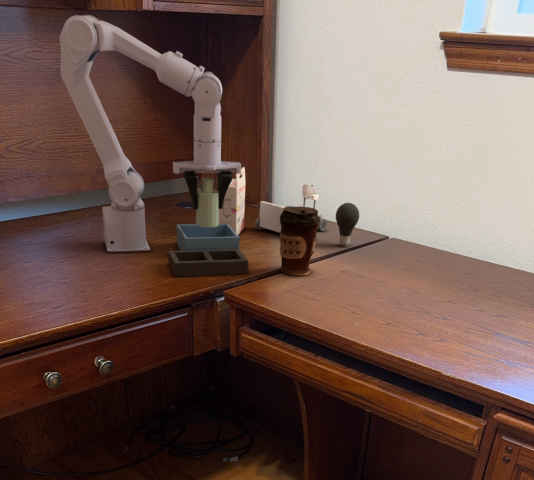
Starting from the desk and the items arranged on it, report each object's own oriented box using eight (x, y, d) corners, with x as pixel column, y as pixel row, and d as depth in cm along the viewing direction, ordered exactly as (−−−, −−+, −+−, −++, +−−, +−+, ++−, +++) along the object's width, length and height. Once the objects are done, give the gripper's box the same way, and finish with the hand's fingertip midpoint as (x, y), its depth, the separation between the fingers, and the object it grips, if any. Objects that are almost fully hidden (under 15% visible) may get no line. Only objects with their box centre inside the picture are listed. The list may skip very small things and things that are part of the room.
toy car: (301, 180, 175) (336, 188, 169) (298, 219, 181) (332, 228, 175) (255, 189, 164) (292, 198, 158) (254, 230, 169) (288, 240, 164)
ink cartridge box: (225, 226, 171) (226, 164, 162) (244, 228, 170) (246, 166, 162) (216, 235, 164) (217, 171, 156) (236, 237, 163) (238, 173, 155)
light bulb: (358, 245, 164) (364, 202, 158) (350, 250, 160) (356, 207, 154) (336, 241, 166) (341, 198, 160) (329, 246, 161) (333, 203, 156)
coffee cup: (301, 281, 140) (307, 216, 133) (268, 272, 143) (271, 209, 136) (321, 270, 146) (327, 208, 139) (288, 262, 150) (293, 201, 142)
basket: (185, 259, 148) (185, 238, 145) (176, 244, 156) (176, 224, 154) (238, 257, 151) (239, 237, 148) (227, 242, 159) (228, 223, 157)
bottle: (198, 227, 147) (198, 181, 142) (194, 221, 151) (194, 176, 146) (220, 227, 149) (221, 181, 143) (215, 221, 152) (216, 176, 147)
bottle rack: (175, 276, 138) (174, 263, 136) (168, 263, 144) (168, 250, 143) (247, 273, 142) (248, 260, 140) (238, 261, 148) (238, 248, 147)
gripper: (176, 143, 135) (177, 213, 143) (245, 144, 139) (243, 212, 147) (170, 137, 141) (172, 204, 148) (237, 138, 144) (235, 204, 152)
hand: (207, 208), depth 148 cm, fingers closed on bottle, 5 cm apart
